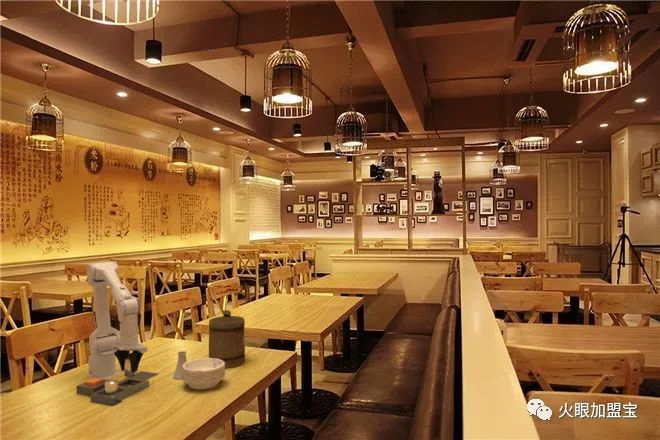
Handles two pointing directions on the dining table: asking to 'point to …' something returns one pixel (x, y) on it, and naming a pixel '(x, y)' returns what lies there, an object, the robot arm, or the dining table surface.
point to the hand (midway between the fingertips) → (129, 370)
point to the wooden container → (227, 339)
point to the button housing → (89, 388)
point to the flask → (180, 365)
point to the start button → (94, 382)
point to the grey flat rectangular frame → (120, 391)
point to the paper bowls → (203, 372)
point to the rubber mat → (143, 375)
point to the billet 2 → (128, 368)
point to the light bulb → (111, 387)
